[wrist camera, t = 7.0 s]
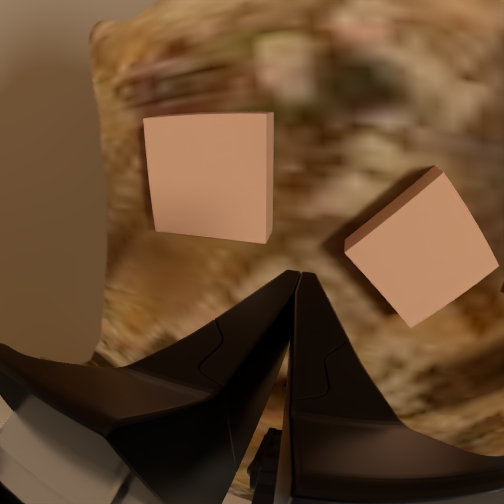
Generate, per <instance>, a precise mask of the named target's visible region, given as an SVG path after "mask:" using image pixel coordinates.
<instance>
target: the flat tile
mask: <svg viewBox="0 0 504 504" xmlns="http://www.w3.org/2000/svg"><path fill="white" fill-rule="evenodd" d="M344 253H345V254H346V255H347V256H348V257H349V258H350V259H351V260H352V262H353V263H354V264H355V265H356V266H357V267H358V268H359V269H360V270H361V271H362V273H363V274H364V275H365V276H366V277H367V278H368V279H369V280H370V281H371V283H372V284H373V285H374V286H375V287H376V288H377V289H378V291H379V292H380V293H381V294H382V295H383V296H384V297H385V298H386V300H387V301H388V302H389V303H390V304H391V305H392V307H393V308H394V309H395V310H396V311H397V312H398V314H399V315H400V316H401V317H402V318H403V319H404V321H405V322H406V323H407V324H408V325H409V327H410V328H412V327H413V326H415V325H416V324H418V323H420V322H421V321H423V320H424V319H426V318H427V317H429V316H430V315H432V314H434V313H435V312H437V311H438V310H440V309H441V308H443V307H444V306H446V305H447V304H448V303H450V302H451V301H453V300H454V299H456V298H457V297H458V296H460V295H461V294H463V293H464V292H465V291H467V290H468V289H470V288H471V287H472V286H474V285H475V284H476V283H478V282H479V281H480V280H482V279H483V278H484V277H486V276H487V275H488V274H489V273H491V272H492V271H493V270H495V269H496V268H497V267H498V266H499V265H498V263H497V261H496V259H495V257H494V255H493V253H492V251H491V249H490V247H489V245H488V243H487V241H486V240H485V238H484V236H483V234H482V232H481V231H480V229H479V227H478V225H477V224H476V222H475V220H474V218H473V217H472V215H471V213H470V212H469V210H468V209H467V207H466V205H465V204H464V202H463V201H462V199H461V197H460V196H459V194H458V193H457V191H456V190H455V188H454V187H453V185H452V184H451V182H450V181H449V179H448V178H447V177H446V175H445V174H444V172H443V171H441V170H440V169H439V168H438V167H436V166H434V167H432V168H431V169H430V170H429V171H428V172H427V173H425V174H424V175H423V176H422V177H421V178H420V179H418V180H417V181H416V182H415V183H414V184H412V185H411V186H410V187H409V188H408V189H406V190H405V191H404V192H403V193H402V194H400V195H399V196H398V197H397V198H396V199H394V200H393V201H392V202H391V203H389V204H388V205H387V206H386V207H385V208H383V209H382V210H381V211H380V212H378V213H377V214H376V215H375V216H374V217H372V218H371V219H370V220H369V221H367V222H366V223H365V224H364V225H362V226H361V227H360V228H359V229H357V230H356V231H355V232H353V233H352V234H351V235H350V236H348V237H347V238H346V239H345V245H344Z"/></svg>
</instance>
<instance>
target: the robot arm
mask: <svg viewBox="0 0 504 504" xmlns="http://www.w3.org/2000/svg"><path fill="white" fill-rule="evenodd" d="M289 342H290V347H289V359H288V371H287V383H286V384H284V385H283V391H284V392H286V395H285V406H284V417H283V427H282V430H277V429H276V428H269V430H268V432H267V434H265V436H264V438H263V440H262V442H261V445H260V447H259V449H258V451H257V453H256V455H255V458H254V460H253V461H252V462H251V464H250V465H249V467H248V468H247V474H248V475H249V476H250V489H251V491H254V495H253V499H252V504H504V456H485V455H479V454H475V453H471V452H468V451H465V450H463V449H460V448H457V447H454V446H452V445H449V444H446V443H444V442H441V441H439V440H436V439H434V438H431V437H429V436H426V435H424V434H421V433H419V432H416V431H414V430H412V429H410V428H409V427H407V426H406V425H405V424H404V423H403V422H402V421H401V420H400V419H399V418H398V417H397V415H396V414H395V413H394V411H393V410H392V408H391V407H390V405H389V404H388V402H387V401H386V399H385V398H384V396H383V395H382V393H381V392H380V391H379V389H378V388H377V386H376V385H375V383H374V382H373V380H372V379H371V377H370V376H369V374H368V373H367V371H366V370H365V368H364V366H363V365H362V363H361V361H360V359H359V358H358V356H357V354H356V352H355V350H354V348H353V346H352V344H351V342H350V341H349V338H348V336H347V334H346V332H345V330H344V328H343V326H342V324H341V322H340V320H339V318H338V316H337V314H336V312H335V310H334V308H333V306H332V304H331V302H330V301H329V299H328V297H327V295H326V293H325V291H324V289H323V287H322V285H321V283H320V281H319V279H318V278H317V276H316V274H315V273H310V272H302V273H300V272H299V271H294V270H286V271H284V272H283V273H281V274H280V275H279V276H277V277H276V278H274V279H273V280H271V281H270V282H268V283H267V284H266V285H264V286H263V287H261V288H260V289H258V290H257V291H255V292H254V293H252V294H251V295H250V296H248V297H247V298H245V299H244V300H242V301H241V302H239V303H238V304H236V305H235V306H233V307H232V308H230V309H229V310H227V311H226V312H224V313H223V314H221V315H220V316H218V317H217V318H216V319H215V320H212V321H211V322H209V323H208V324H206V325H205V326H203V327H202V328H200V329H198V330H197V331H195V332H193V333H192V334H190V335H188V336H187V337H185V338H183V339H181V340H179V341H177V342H175V343H174V344H172V345H170V346H168V347H166V348H164V349H162V350H159V351H157V352H155V353H153V354H151V355H149V356H147V357H145V358H143V359H141V360H139V361H137V362H135V363H132V364H130V365H127V366H124V367H118V368H102V367H93V366H84V365H76V364H69V363H62V362H55V361H49V360H43V359H38V358H34V357H30V356H27V355H24V354H21V353H19V352H17V351H15V350H14V349H12V348H11V347H9V346H7V345H5V344H2V343H0V395H1V397H2V398H3V399H4V400H5V402H6V403H7V404H8V405H9V407H10V408H11V409H12V410H13V412H12V414H11V415H10V416H9V417H8V419H7V420H6V421H5V422H4V424H3V425H2V426H1V428H0V504H222V502H223V500H224V498H225V496H226V494H227V492H228V490H229V487H230V485H231V483H232V481H233V479H234V477H235V475H236V472H237V470H238V468H239V466H240V464H241V461H242V459H243V457H244V455H245V452H246V450H247V448H248V446H249V443H250V441H251V439H252V436H253V434H254V432H255V429H256V427H257V425H258V422H259V420H260V418H261V415H262V413H263V410H264V408H265V405H266V403H267V400H268V398H269V396H270V393H271V391H272V388H273V386H274V383H275V380H276V378H277V375H278V373H279V370H280V368H281V365H282V362H283V360H284V357H285V354H286V352H287V349H288V346H289Z"/></svg>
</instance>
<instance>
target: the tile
mask: <svg viewBox="0 0 504 504" xmlns="http://www.w3.org/2000/svg"><path fill="white" fill-rule="evenodd" d="M143 120H144V134H145V146H146V156H147V167H148V176H149V185H150V193H151V201H152V209H153V216H154V223H155V230H156V231H159V232H168V233H177V234H186V235H195V236H203V237H212V238H221V239H229V240H238V241H247V242H255V243H264V244H266V242H267V240H268V238H269V236H270V234H271V232H272V222H273V159H274V112H203V113H184V114H170V115H159V116H154V117H149V118H144V119H143Z"/></svg>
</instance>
